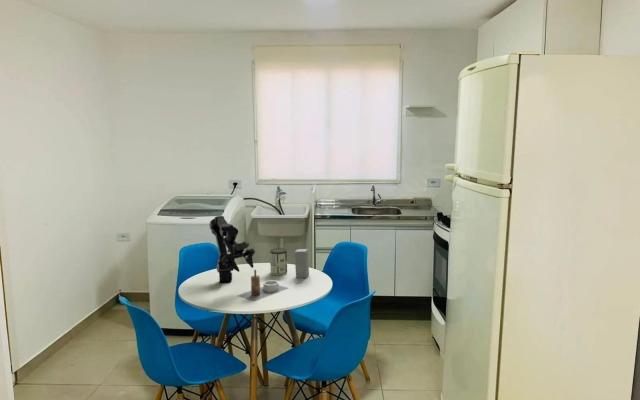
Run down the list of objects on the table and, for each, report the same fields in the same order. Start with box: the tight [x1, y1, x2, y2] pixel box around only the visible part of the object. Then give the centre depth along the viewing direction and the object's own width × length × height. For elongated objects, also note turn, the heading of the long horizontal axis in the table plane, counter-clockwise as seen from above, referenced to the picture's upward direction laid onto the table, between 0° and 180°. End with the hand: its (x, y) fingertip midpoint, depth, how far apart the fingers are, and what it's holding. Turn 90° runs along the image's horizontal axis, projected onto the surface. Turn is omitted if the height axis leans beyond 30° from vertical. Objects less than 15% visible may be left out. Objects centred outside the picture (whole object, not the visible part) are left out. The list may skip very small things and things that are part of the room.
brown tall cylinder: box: [250, 269, 261, 296], centre depth 225 cm, size 4×4×13 cm
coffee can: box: [269, 247, 288, 276], centre depth 266 cm, size 10×10×14 cm
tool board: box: [236, 279, 289, 302], centre depth 230 cm, size 25×13×4 cm, turn 141°
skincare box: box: [294, 248, 310, 279], centre depth 259 cm, size 8×7×16 cm
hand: (246, 269), depth 229 cm, fingers open, 9 cm apart
